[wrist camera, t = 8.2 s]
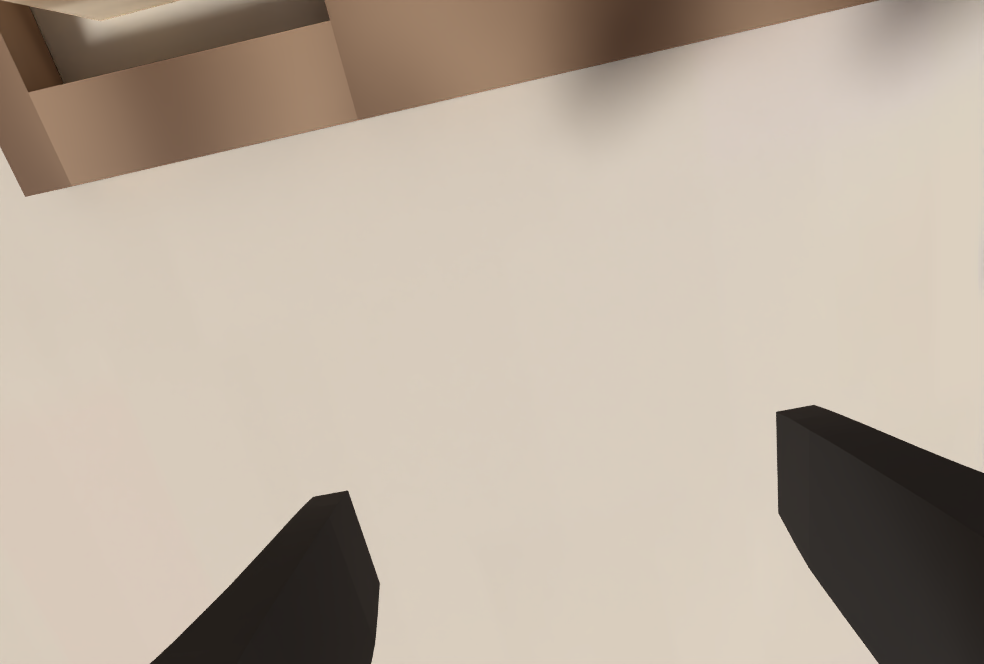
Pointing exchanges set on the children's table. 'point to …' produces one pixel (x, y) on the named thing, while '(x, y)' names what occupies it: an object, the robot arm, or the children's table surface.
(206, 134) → the puzzle board
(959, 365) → the children's table surface
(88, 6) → the maple block
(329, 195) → the children's table surface
